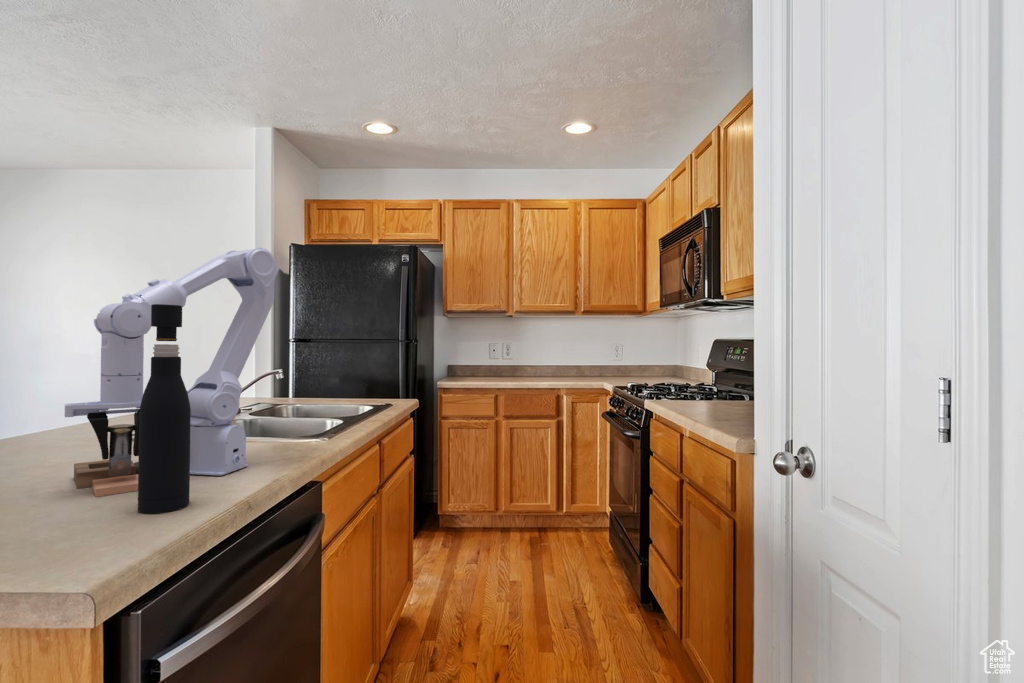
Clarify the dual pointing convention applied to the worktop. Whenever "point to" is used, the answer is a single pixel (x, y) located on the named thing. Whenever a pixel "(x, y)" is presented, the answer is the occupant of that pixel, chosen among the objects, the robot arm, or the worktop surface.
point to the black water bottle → (164, 423)
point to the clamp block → (95, 472)
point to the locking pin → (120, 449)
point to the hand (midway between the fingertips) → (121, 456)
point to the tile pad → (115, 485)
